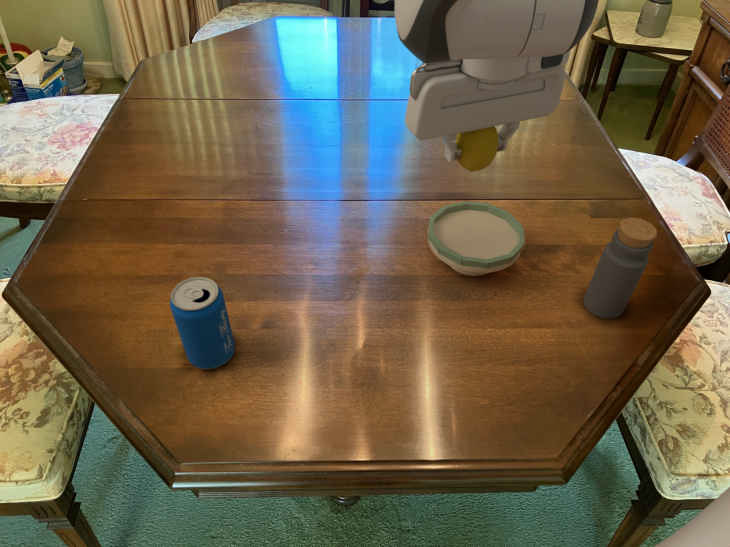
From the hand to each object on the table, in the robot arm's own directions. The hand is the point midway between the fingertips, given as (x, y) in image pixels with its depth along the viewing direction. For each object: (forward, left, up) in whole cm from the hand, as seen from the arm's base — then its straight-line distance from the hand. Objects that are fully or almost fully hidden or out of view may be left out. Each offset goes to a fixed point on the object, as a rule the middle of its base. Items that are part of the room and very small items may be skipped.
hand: (475, 153), depth 73 cm
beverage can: (-3, +39, -22) cm, 45 cm away
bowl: (+2, -4, -22) cm, 22 cm away
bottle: (-14, -18, -22) cm, 32 cm away
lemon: (0, 0, -3) cm, 3 cm away
